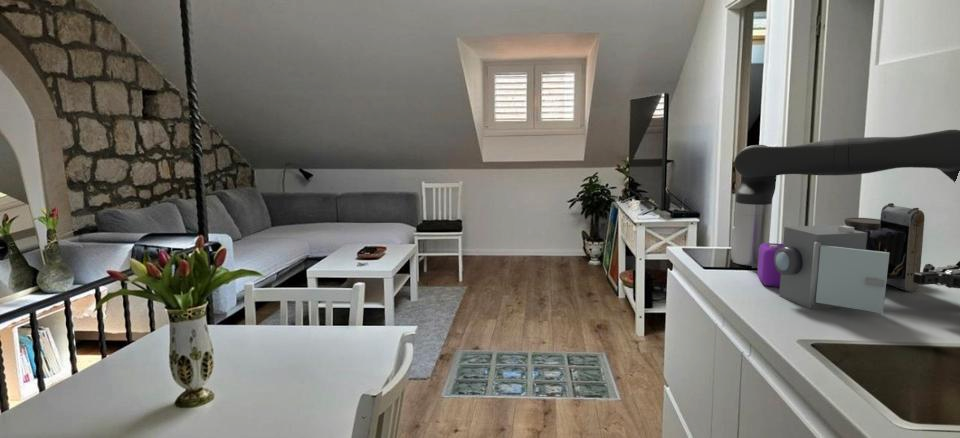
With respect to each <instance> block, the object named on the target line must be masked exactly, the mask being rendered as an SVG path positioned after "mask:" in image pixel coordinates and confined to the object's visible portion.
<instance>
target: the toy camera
mask: <svg viewBox="0 0 960 438" xmlns="http://www.w3.org/2000/svg"><path fill="white" fill-rule="evenodd" d="M779 248H783V243H772V242H771V243H770V242H769V243H764V244H761V246H760V248H759V258H758V266H757V276H758V278H759V280H760V282H761V284H763V285H765V286H767V287H775V288H776V287H778V288H780V278H781V274H780V273H779V272H778V271H777V269H776V267H775V264H774V256H775V253H776V251H777V250H778V249H779Z"/></svg>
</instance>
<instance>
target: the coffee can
mask: <svg viewBox="0 0 960 438" xmlns="http://www.w3.org/2000/svg"><path fill="white" fill-rule="evenodd" d="M844 226H850V227H854V230H856V231H863V230H869V231H870V232H871V231H875V230H878V229H880V219H879V218H870V217H845V218H844Z"/></svg>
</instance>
